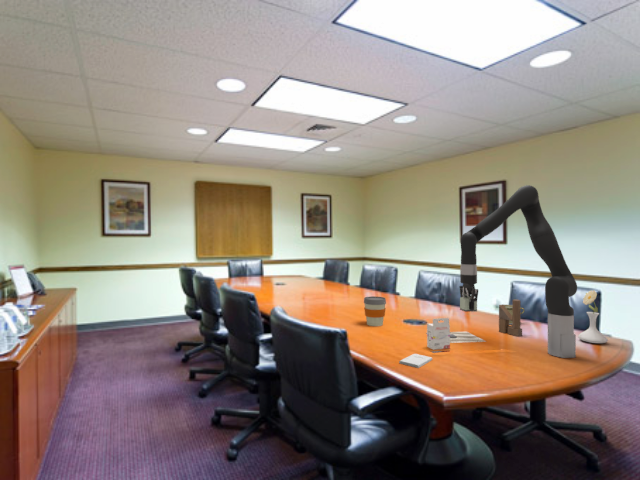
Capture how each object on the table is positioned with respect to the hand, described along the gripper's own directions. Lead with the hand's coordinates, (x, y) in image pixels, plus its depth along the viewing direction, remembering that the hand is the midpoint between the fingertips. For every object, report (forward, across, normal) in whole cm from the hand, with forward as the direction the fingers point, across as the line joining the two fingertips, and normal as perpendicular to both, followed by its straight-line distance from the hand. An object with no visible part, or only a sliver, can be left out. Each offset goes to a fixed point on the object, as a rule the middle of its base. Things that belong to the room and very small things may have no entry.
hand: (468, 308), depth 178 cm
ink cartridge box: (+15, -15, +22) cm, 31 cm away
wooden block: (+15, +8, -27) cm, 32 cm away
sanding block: (+1, 0, 0) cm, 1 cm away
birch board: (+15, 0, +7) cm, 17 cm away
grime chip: (+14, 0, +9) cm, 16 cm away
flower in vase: (+15, -11, -56) cm, 59 cm away
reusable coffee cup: (+15, +36, +37) cm, 54 cm away
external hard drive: (+16, -27, +37) cm, 49 cm away
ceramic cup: (+15, +29, -42) cm, 53 cm away
